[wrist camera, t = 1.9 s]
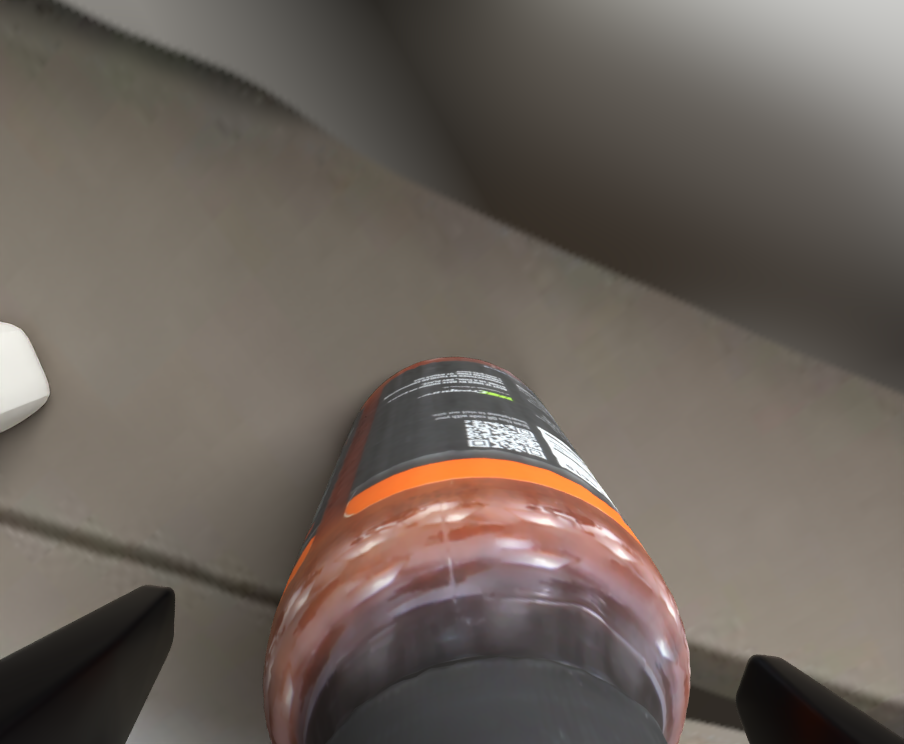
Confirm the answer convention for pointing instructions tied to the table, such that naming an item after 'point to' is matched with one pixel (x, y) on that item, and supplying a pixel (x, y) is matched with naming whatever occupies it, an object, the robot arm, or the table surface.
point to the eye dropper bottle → (19, 377)
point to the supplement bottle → (471, 585)
